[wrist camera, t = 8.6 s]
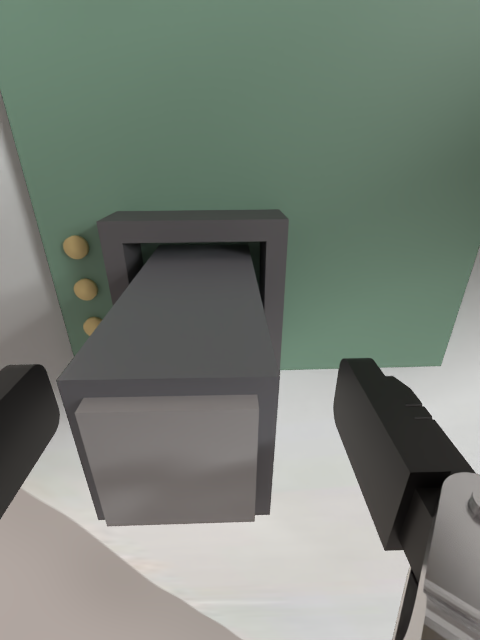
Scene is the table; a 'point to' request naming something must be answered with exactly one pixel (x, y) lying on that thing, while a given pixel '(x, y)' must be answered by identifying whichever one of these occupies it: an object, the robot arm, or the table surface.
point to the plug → (178, 394)
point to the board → (258, 157)
